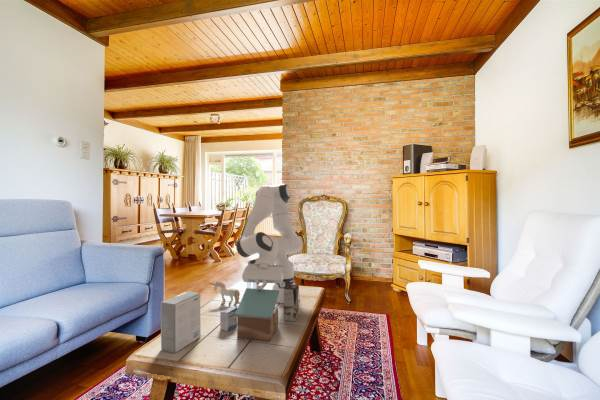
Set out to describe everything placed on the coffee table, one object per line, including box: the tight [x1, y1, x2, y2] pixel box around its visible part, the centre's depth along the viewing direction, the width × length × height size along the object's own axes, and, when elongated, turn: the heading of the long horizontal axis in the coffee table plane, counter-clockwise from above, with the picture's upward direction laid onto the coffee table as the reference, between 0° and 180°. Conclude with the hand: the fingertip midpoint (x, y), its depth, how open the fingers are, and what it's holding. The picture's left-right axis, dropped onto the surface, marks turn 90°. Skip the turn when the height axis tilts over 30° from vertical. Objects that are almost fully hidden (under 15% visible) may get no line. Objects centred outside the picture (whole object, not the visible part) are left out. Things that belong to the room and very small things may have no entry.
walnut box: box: [236, 307, 279, 343], centre depth 135 cm, size 14×15×10 cm
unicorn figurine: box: [207, 281, 241, 307], centre depth 172 cm, size 7×20×13 cm, turn 82°
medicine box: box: [219, 306, 238, 332], centre depth 141 cm, size 8×4×9 cm, turn 158°
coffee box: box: [283, 284, 300, 322], centre depth 154 cm, size 9×6×16 cm
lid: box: [236, 287, 279, 319], centre depth 134 cm, size 16×16×1 cm
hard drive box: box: [160, 290, 202, 354], centre depth 125 cm, size 16×8×20 cm, turn 159°
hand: (259, 290), depth 138 cm, fingers closed
